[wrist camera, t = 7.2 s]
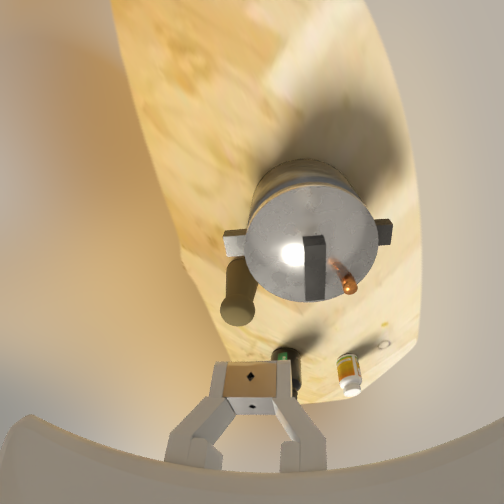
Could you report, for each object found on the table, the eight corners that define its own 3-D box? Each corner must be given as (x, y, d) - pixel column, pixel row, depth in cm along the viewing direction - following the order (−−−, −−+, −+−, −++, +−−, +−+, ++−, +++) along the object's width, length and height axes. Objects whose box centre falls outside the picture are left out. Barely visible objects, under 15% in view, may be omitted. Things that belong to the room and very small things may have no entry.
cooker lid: (235, 188, 30) (231, 201, 27) (379, 178, 28) (390, 190, 25) (254, 298, 38) (252, 316, 36) (367, 289, 36) (374, 306, 33)
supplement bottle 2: (332, 363, 63) (336, 397, 55) (343, 351, 60) (349, 386, 52) (349, 366, 63) (355, 399, 55) (361, 355, 60) (368, 388, 52)
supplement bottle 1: (275, 344, 59) (274, 391, 49) (304, 349, 60) (307, 394, 50) (267, 360, 63) (265, 404, 53) (294, 365, 64) (295, 407, 54)
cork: (267, 270, 48) (265, 316, 39) (248, 291, 51) (242, 337, 42) (238, 252, 47) (229, 297, 37) (220, 275, 50) (208, 320, 40)
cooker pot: (225, 166, 39) (210, 191, 30) (373, 156, 36) (400, 178, 27) (241, 258, 47) (234, 299, 39) (368, 249, 44) (385, 287, 36)
